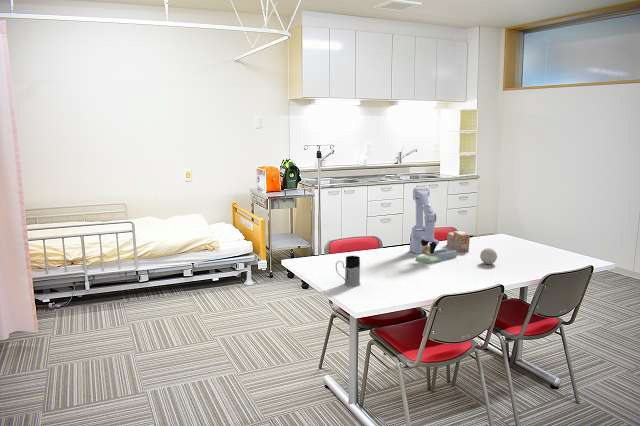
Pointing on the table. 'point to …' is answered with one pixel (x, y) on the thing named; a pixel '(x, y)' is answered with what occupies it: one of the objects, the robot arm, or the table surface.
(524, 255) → the table surface
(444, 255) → the pale green block
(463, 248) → the stack of blocks
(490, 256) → the eye model
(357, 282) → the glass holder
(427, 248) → the maple block
